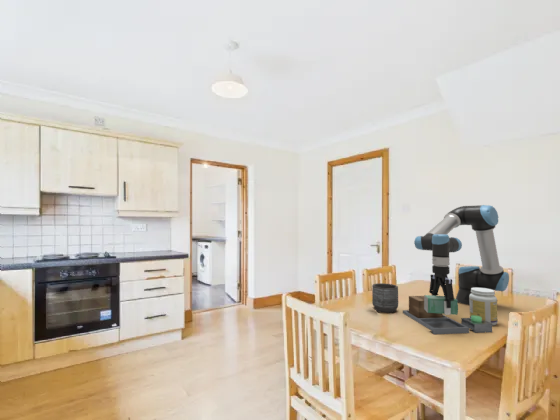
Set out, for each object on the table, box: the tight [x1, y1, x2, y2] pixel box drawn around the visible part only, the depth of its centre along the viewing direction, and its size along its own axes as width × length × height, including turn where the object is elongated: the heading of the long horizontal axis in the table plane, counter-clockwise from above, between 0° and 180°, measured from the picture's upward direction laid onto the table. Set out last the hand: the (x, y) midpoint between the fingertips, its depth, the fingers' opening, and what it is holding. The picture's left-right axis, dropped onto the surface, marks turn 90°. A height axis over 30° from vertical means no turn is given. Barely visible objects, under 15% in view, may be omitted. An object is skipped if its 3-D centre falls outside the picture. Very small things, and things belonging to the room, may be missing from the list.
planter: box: [371, 282, 399, 314], centre depth 176 cm, size 14×14×15 cm
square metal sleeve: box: [460, 317, 493, 334], centre depth 148 cm, size 9×9×4 cm
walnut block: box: [408, 295, 443, 318], centre depth 163 cm, size 13×10×10 cm
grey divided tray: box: [402, 309, 470, 335], centre depth 156 cm, size 18×29×2 cm, turn 6°
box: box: [423, 294, 459, 316], centre depth 149 cm, size 7×14×8 cm, turn 78°
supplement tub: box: [468, 288, 499, 327], centre depth 158 cm, size 12×12×17 cm
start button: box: [471, 315, 482, 323], centre depth 148 cm, size 4×4×4 cm
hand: (441, 311), depth 149 cm, fingers closed on box, 9 cm apart
